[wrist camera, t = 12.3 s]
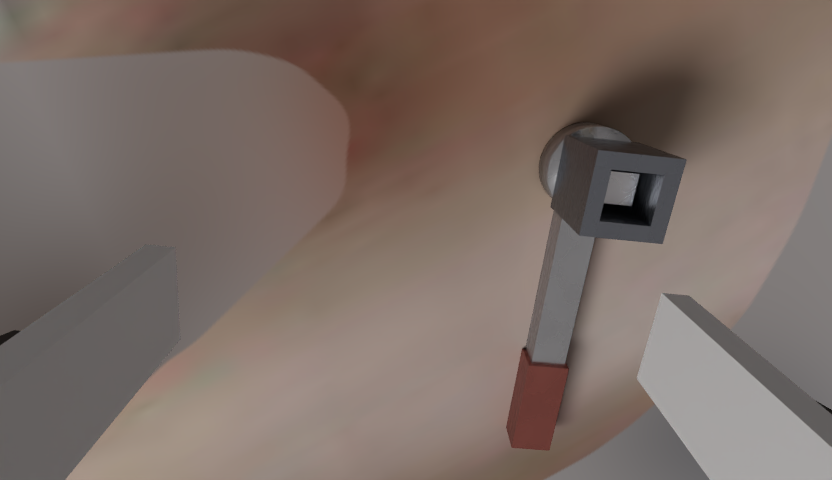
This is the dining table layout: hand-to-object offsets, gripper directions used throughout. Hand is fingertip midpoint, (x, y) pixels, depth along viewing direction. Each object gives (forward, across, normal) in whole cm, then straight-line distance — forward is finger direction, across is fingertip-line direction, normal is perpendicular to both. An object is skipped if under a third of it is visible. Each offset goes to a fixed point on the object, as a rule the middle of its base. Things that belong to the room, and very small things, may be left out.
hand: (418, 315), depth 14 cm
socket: (+26, +14, 0) cm, 29 cm away
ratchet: (+29, +14, -11) cm, 34 cm away
